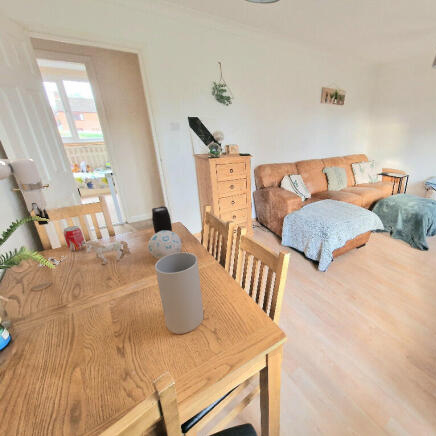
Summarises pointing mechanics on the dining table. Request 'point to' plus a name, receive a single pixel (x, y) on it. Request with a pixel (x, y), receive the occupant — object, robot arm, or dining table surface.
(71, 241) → the soda can
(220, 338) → the dining table surface
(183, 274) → the cylinder vase
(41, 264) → the grey square slab
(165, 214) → the portable speaker
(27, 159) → the robot arm
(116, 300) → the dining table surface
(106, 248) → the unicorn figurine
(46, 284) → the cork coaster
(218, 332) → the dining table surface
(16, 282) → the dining table surface
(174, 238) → the puzzle ball
